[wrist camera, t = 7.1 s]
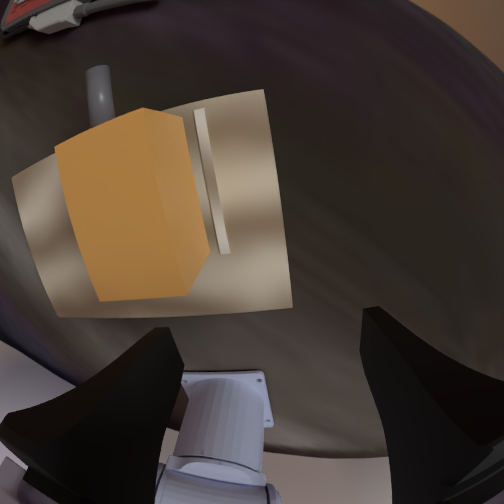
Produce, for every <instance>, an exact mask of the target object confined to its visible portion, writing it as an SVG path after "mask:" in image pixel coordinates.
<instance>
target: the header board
mask: <svg viewBox="0 0 504 504" xmlns="http://www.w3.org/2000/svg"><path fill="white" fill-rule="evenodd" d="M160 112H164V113H168V114H172V115H176V116H180V117H183V123H184V129H185V134H186V139H187V145H188V150H189V155H190V160H191V165H192V170H193V175H194V180H195V185H196V190H197V194H198V199H199V204H200V208H201V213H202V218H203V222H204V226H205V231H206V235H207V240H208V244H209V248H210V253H209V255H208V257H207V259H206V261H205V263H204V265H203V266H202V268H201V270H200V272H199V274H198V276H197V278H196V280H195V281H194V283H193V285H192V287H191V289H190V291H189V293H188V295H186V296H174V297H162V298H149V299H135V300H119V301H102V302H100V301H99V298H98V296H97V294H96V291H95V289H94V286H93V284H92V281H91V279H90V276H89V273H88V271H87V268H86V265H85V263H84V260H83V257H82V254H81V251H80V248H79V245H78V242H77V239H76V236H75V233H74V230H73V226H72V223H71V219H70V216H69V212H68V208H67V205H66V201H65V197H64V193H63V188H62V184H61V179H60V175H59V170H58V164H57V159H56V153H54V154H52V155H50V156H49V157H47V158H45V159H43V160H41V161H39V162H37V163H36V164H34V165H32V166H30V167H28V168H27V169H25V170H23V171H22V172H20V173H18V174H17V175H15V176H13V177H12V182H13V187H14V192H15V197H16V201H17V205H18V210H19V214H20V217H21V221H22V225H23V228H24V232H25V235H26V238H27V242H28V245H29V248H30V251H31V254H32V257H33V259H34V262H35V265H36V268H37V270H38V273H39V275H40V278H41V281H42V283H43V285H44V288H45V290H46V292H47V295H48V297H49V299H50V302H51V304H52V306H53V308H54V310H55V312H56V314H57V316H58V317H70V318H147V317H176V316H196V315H213V314H227V313H240V312H252V311H263V310H273V309H283V308H292V307H293V305H292V295H291V286H290V276H289V267H288V258H287V249H286V241H285V232H284V224H283V216H282V209H281V201H280V194H279V186H278V179H277V172H276V165H275V158H274V152H273V145H272V139H271V132H270V126H269V120H268V114H267V108H266V102H265V96H264V90H263V89H262V90H255V91H249V92H242V93H237V94H231V95H226V96H221V97H216V98H211V99H206V100H202V101H198V102H194V103H189V104H186V105H182V106H178V107H174V108H171V109H167V110H164V111H160Z"/></svg>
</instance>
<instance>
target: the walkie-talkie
mask: <svg viewBox="0 0 504 504" xmlns="http://www.w3.org/2000/svg"><path fill="white" fill-rule="evenodd" d="M144 1H150V0H99V1H95V2H92V0H10V2H9V5H8V7H7V9H6V11H5V14H4V16H3V19H2V21H1V29H2V30H3V33H2V38H5V39H8V38H10V37H12V36H13V35H15V34H18V33H21V32H22V31H24V30H27V29H28V28H31V29H34V30H37V31H40V32H43V33H47V34H51V33H54V32H57V31H60V30H63V29H66V28H69V27H76V26H79V25H80V22H81V20H82V17H86V16H89V15H90V14H91V13H94V12H98V11H102V10H106V9H111V8H115V7H120V6H125V5H129V4H132V3H138V2H144ZM91 2H92V3H91ZM8 32H10V33H8Z"/></svg>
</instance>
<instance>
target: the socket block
mask: <svg viewBox="0 0 504 504" xmlns="http://www.w3.org/2000/svg"><path fill="white" fill-rule="evenodd" d="M85 80H86V92H87V102H88V110H89V118H90V125H91V129H89V130H87V131H85V132H83V133H81V134H78V135H76V136H74V137H72V138H70V139H68V140H66V141H65V142H63V143H61V144H59V145H57V146H55V153H56V159H57V164H58V170H59V175H60V179H61V184H62V188H63V193H64V197H65V201H66V205H67V208H68V212H69V216H70V219H71V223H72V226H73V230H74V233H75V236H76V239H77V242H78V245H79V248H80V251H81V254H82V257H83V260H84V263H85V265H86V268H87V271H88V273H89V276H90V279H91V281H92V284H93V286H94V289H95V291H96V294H97V296H98V298H99V301H100V302H102V301H119V300H135V299H149V298H162V297H174V296H186V295H188V293H189V291H190V289H191V287H192V285H193V283H194V281H195V280H196V278H197V276H198V274H199V272H200V270H201V268H202V266H203V265H204V263H205V261H206V259H207V257H208V255H209V253H210V248H209V244H208V240H207V235H206V231H205V226H204V222H203V218H202V213H201V208H200V204H199V199H198V194H197V190H196V185H195V180H194V175H193V170H192V165H191V160H190V155H189V150H188V145H187V139H186V134H185V129H184V123H183V117H180V116H176V115H172V114H168V113H164V112H160V111H155V110H151V109H146V108H141V109H138V110H135V111H132V112H130V113H127V114H125V115H122V116H119V117H117V118H115V111H114V104H113V96H112V88H111V79H110V68H109V66H107V65H100V66H95V67H93V68H90V69H89V70H87V71H86V72H85Z"/></svg>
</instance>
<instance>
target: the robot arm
mask: <svg viewBox="0 0 504 504" xmlns="http://www.w3.org/2000/svg"><path fill="white" fill-rule="evenodd" d="M359 351H360V355H361V360H362V364H363V368H364V372H365V376H366V378H367V381H368V384H369V387H370V390H371V392H372V395H373V398H374V401H375V404H376V406H377V409H378V412H379V415H380V418H381V421H382V425H383V429H384V433H385V439H386V444H387V450H388V457H389V464H390V472H391V484H392V504H504V381H501V380H498V379H495V378H492V377H490V376H487V375H484V374H482V373H480V372H477V371H475V370H473V369H471V368H468V367H466V366H464V365H462V364H460V363H459V362H457V361H455V360H453V359H451V358H450V357H448V356H446V355H444V354H443V353H441V352H439V351H438V350H436V349H435V348H433V347H432V346H430V345H429V344H427V343H426V342H425V341H423V340H422V339H420V338H419V337H418V336H416V335H415V334H414V333H412V332H411V331H410V330H408V329H407V328H406V327H405V326H403V325H402V324H401V323H399V322H398V321H397V320H396V319H394V318H393V317H392V316H391V315H389V314H388V313H387V312H386V311H384V310H383V309H382V308H381V307H379V306H377V307H371V308H365V309H363V316H362V329H361V341H360V350H359ZM183 370H184V363H183V361H182V358H181V356H180V354H179V351H178V349H177V346H176V344H175V342H174V339H173V337H172V334H171V331H170V329H169V327H160V328H154V329H153V330H151V331H150V332H148V333H147V334H146V335H145V336H143V337H142V338H141V339H140V340H139V341H137V342H136V343H135V344H134V345H133V346H131V347H130V348H129V349H128V350H127V351H125V352H124V353H123V354H122V355H121V356H119V357H118V358H117V359H116V360H114V361H113V362H112V363H111V364H109V365H108V366H107V367H105V368H104V369H103V370H101V371H100V372H99V373H97V374H96V375H95V376H93V377H92V378H90V379H89V380H87V381H85V382H84V383H82V384H81V385H79V386H77V387H76V388H74V389H72V390H70V391H68V392H66V393H64V394H62V395H60V396H58V397H56V398H54V399H52V400H49V401H47V402H44V403H42V404H39V405H36V406H33V407H30V408H27V409H23V410H19V411H15V412H11V413H8V414H7V415H6V416H5V418H4V419H3V421H2V422H1V424H0V441H1V442H2V443H3V444H4V445H5V446H6V447H7V448H8V449H9V450H10V451H11V452H12V453H13V454H14V455H16V456H17V457H18V458H19V459H20V460H21V461H22V462H24V463H25V464H26V465H27V466H28V469H27V471H26V470H25V469H23V468H22V467H20V466H19V465H18V464H16V463H15V462H14V461H13V460H11V459H10V458H9V457H5V459H4V461H3V462H2V464H1V466H0V504H282V502H281V497H280V494H279V492H278V491H277V490H276V489H275V487H274V486H273V485H272V484H268V483H266V474H265V473H260V472H261V469H262V457H263V440H264V427H272V426H273V425H274V422H273V417H272V412H271V407H270V402H269V397H268V392H267V387H266V382H265V377H264V373H263V372H262V371H238V372H183ZM181 384H182V386H183V388H184V390H185V392H186V394H187V396H188V398H189V401H188V405H187V408H186V411H185V415H184V418H183V422H182V425H181V428H180V432H179V435H178V439H177V442H176V446H175V449H174V452H173V456H172V455H169V457H168V460H167V464H163V463H159V457H160V452H161V446H162V441H163V437H164V434H165V430H166V427H167V425H168V422H169V419H170V416H171V413H172V410H173V407H174V404H175V401H176V398H177V395H178V392H179V389H180V386H181Z"/></svg>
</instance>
